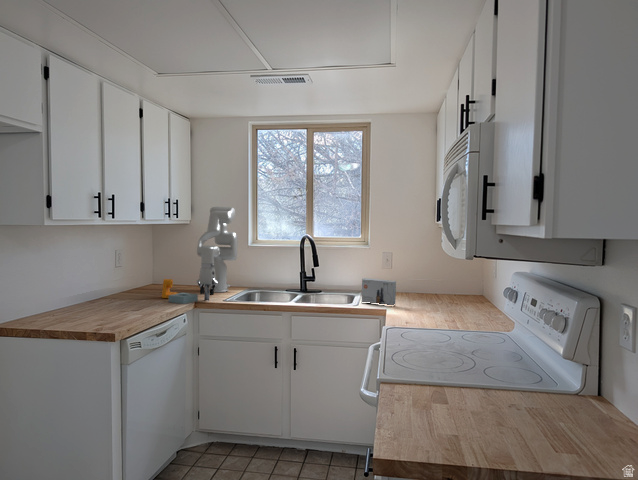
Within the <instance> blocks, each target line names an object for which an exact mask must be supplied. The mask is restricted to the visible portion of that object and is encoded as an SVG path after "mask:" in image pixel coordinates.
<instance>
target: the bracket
mask: <svg viewBox="0 0 638 480" xmlns="http://www.w3.org/2000/svg"><path fill="white" fill-rule="evenodd" d="M173 285H174V281H173V278H164V279H163V282H162V291H161V298H162V299H169V295H173V294H178V291H177V292H175V291H171V290H170V289H172V288H173Z"/></svg>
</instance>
